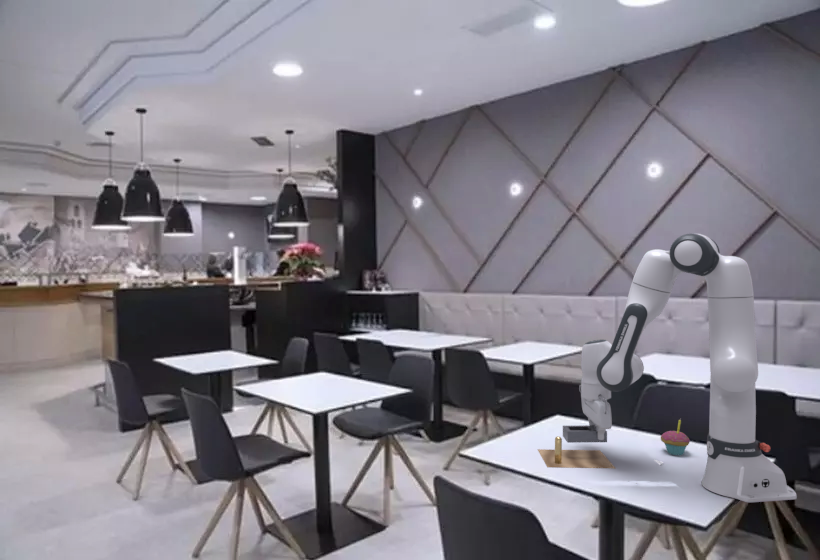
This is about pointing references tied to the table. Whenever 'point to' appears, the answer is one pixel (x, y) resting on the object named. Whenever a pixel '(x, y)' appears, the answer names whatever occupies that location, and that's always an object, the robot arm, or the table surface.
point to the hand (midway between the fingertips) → (596, 435)
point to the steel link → (582, 434)
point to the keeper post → (558, 450)
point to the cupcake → (675, 441)
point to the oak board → (576, 459)
